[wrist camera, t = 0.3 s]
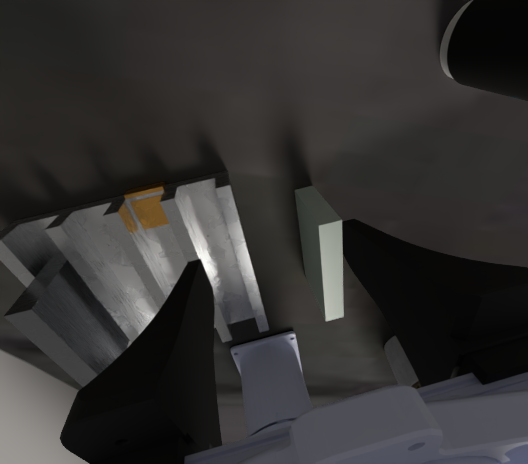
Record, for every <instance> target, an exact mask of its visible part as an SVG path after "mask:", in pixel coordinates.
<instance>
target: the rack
mask: <svg viewBox="0 0 528 464" xmlns="http://www.w3.org/2000/svg"><path fill="white" fill-rule="evenodd" d="M197 259H201V261H202V264H203V266H204V268H205V271H206V273H207V276H208V278H209V280H210V283H211V285H212V288H213V295H214V305H215V315H214V328H216V329H217V331H218V333H219V335H220V338H221V340H222V342H227V341H230V340H232V328H231V324H232V323H235V322H239V321H243V320H247V319H251V318H254V317H255V319H256V322H257V326H258V329H259V332H264V331H268V330H269V327H268V322H267V318H266V313H265V309H264V305H263V301H262V297H261V294H260V290H259V286H258V283H257V279H256V275H255V271H254V268H253V264H252V260H251V256H250V253H249V249H248V245H247V241H246V238H245V234H244V230H243V227H242V223H241V219H240V215H239V212H238V208H237V204H236V200H235V197H234V193H233V189H232V186H231V182H230V178H229V174H228V171H222V172H218V173H214V174H210V175H206V176H201V177H197V178H193V179H189V180H184V181H180V182H176V183H172V184H168V185H166V184H165V182H164V181H163V182H159V183H155V184H151V185H146V186H142V187H138V188H134V189H129V190H127V191H126V193H125V194H124V195H121V196H117V197H113V198H108V199H104V200H100V201H96V202H92V203H87V204H83V205H79V206H75V207H71V208H66V209H62V210H58V211H54V212H49V213H45V214H41V215H37V216H33V217H28V218H24V219H20V220H16V221H13V222H12V223H10V224H9V225H8V226H7V227H5V228H4V229H3V230H2V231H0V260H1V261H2V262H3V263H4V264H5V265H6V266H7V268H8V269H9V270H10V271H11V272H12V273H13V274H14V275H15V276H16V277H17V278H18V279H19V280H20V281H21V282H22V283H23V284H24V285H25V286H26V287H27V288H26V290H25V291H24V292H23V293H22V294H21V296H20V297H19V298H18V299H17V301H16V302H15V303H14V304H13V306H12V307H11V308H10V309H9V311H8V312H7V313H6V314H5V315H4V317H5V318H6V319H7V320H8V321H9V322H10V323H12V324H13V325H14V326H15V327H16V328H17V329H18V330H19V331H21V332H22V333H23V334H24V335H25V336H26V337H27V338H28V339H30V340H31V341H32V342H33V343H34V344H35V345H36V346H37V347H39V348H40V349H41V350H42V351H43V352H44V353H45V354H46V355H48V356H49V357H50V358H51V359H52V360H53V361H54V362H56V363H57V364H58V365H59V366H60V367H61V368H62V369H63V370H65V371H66V372H67V373H68V374H69V375H70V376H71V377H72V378H74V379H75V380H76V381H77V382H78V383H79V384H80V385H81V386H83V387H84V386H86V385H87V384H88V383H89V382H90V381H91V380H93V379H94V378H95V377H96V376H97V375H99V374H100V373H101V372H102V371H103V370H105V369H106V368H107V367H108V366H109V365H110V364H111V363H112V362H113V361H114V360H115V359H116V358H118V357H119V356H120V355H121V354H122V353H123V352H124V351H125V350H126V349H127V348H128V347H129V346H130V345H131V343H132V342H133V341H134V340H135V339H136V338H137V337H138V336H139V335H140V334H141V332H142V331H143V330H144V329H145V328H146V327H147V325H148V324H149V323H150V322H151V320H152V319H153V318H154V317H155V315H156V314H157V313H158V311H159V310H160V308H161V307H162V305H163V304H164V302H165V301H166V299H167V298H168V296H169V295H170V293H171V291H172V290H173V288H174V286H175V284H176V283H177V281H178V279H179V277H180V276H181V274H182V272H183V270H184V268H185V266H186V265H187V263H188V262H190V261H194V260H197Z"/></svg>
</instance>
